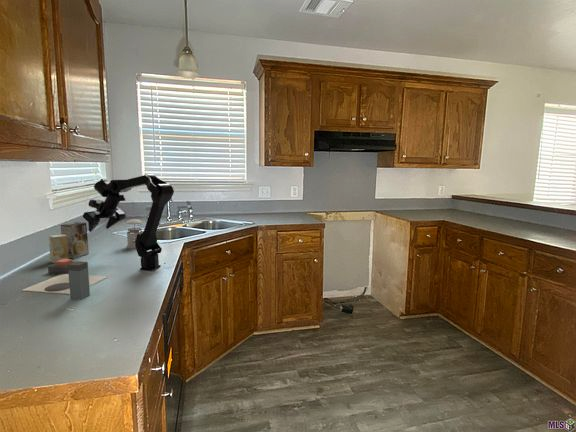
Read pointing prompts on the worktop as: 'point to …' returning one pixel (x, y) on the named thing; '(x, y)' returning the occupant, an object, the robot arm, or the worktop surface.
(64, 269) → the button socket
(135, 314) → the worktop surface
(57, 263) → the button
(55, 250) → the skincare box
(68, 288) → the paper sheet
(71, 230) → the coffee box
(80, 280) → the dark grey block
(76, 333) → the worktop surface
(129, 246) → the french press
